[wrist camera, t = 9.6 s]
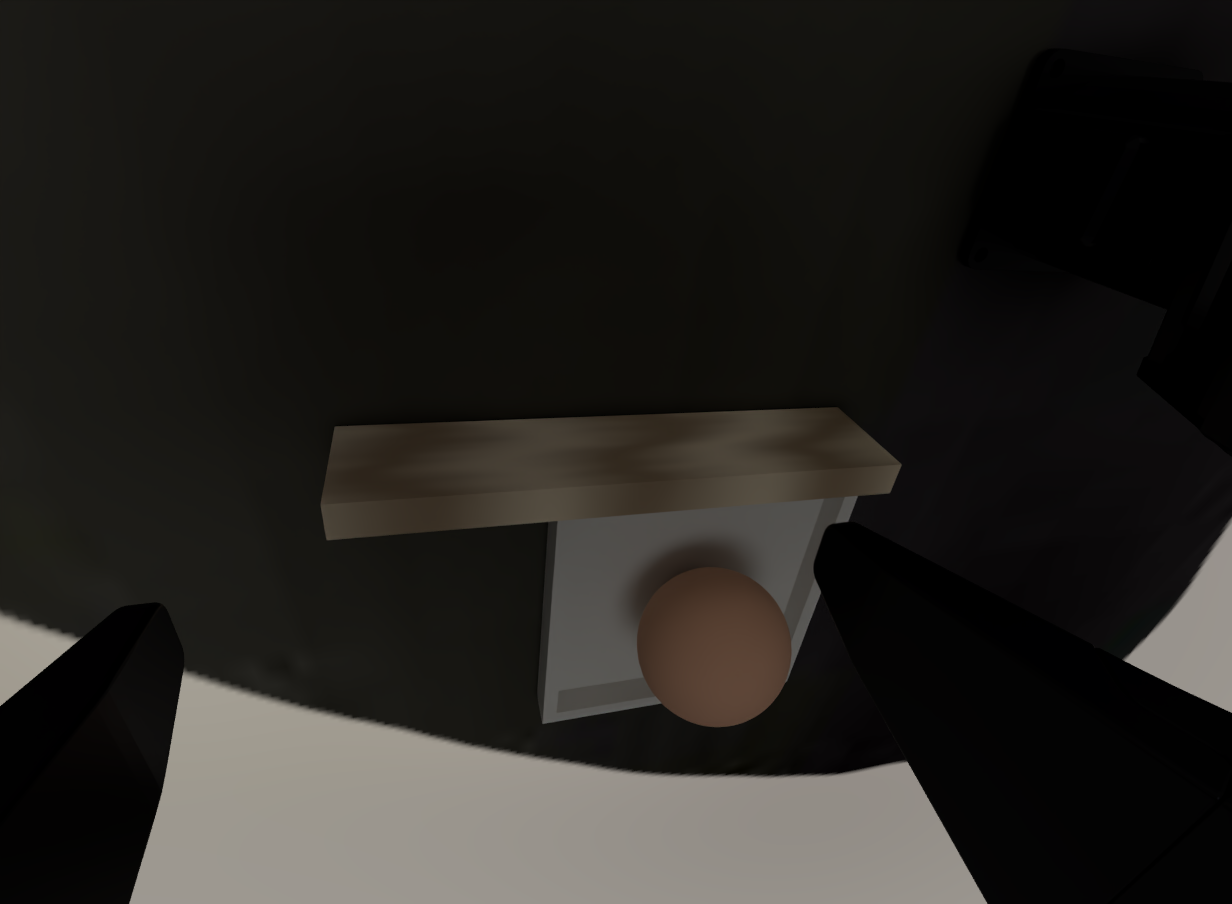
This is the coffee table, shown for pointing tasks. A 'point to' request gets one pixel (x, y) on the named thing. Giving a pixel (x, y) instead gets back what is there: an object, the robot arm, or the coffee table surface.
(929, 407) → the coffee table surface
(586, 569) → the coaster tray
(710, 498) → the rail
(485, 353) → the coffee table surface
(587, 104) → the coffee table surface
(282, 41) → the coffee table surface
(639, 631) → the ball
